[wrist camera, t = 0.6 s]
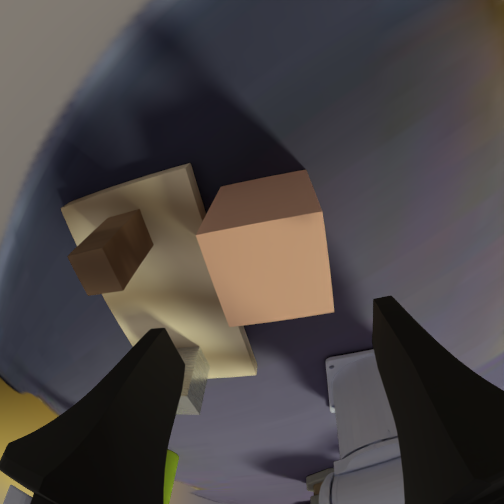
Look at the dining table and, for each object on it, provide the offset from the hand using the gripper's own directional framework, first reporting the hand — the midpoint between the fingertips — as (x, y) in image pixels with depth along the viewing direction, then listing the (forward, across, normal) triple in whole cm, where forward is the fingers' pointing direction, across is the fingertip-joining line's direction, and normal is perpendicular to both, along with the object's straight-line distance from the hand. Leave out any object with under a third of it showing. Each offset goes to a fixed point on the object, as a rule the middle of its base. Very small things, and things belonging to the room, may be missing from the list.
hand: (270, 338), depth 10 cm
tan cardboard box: (+10, 0, 0) cm, 10 cm away
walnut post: (+9, +9, -1) cm, 13 cm away
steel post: (+9, +9, +11) cm, 17 cm away
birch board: (+10, +9, +5) cm, 15 cm away
